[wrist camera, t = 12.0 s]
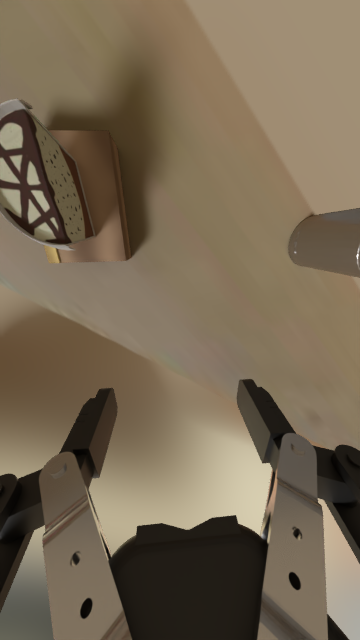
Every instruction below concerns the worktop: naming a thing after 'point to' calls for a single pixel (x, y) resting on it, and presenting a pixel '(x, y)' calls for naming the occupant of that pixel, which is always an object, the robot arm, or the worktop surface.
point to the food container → (40, 181)
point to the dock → (96, 198)
